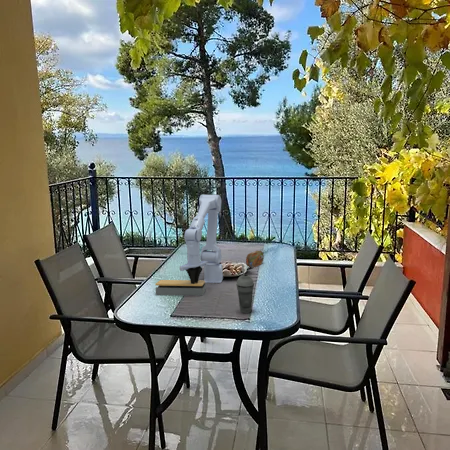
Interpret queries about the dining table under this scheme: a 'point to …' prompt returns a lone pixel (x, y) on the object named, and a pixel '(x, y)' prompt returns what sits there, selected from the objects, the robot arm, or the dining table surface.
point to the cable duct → (180, 290)
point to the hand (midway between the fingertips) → (194, 282)
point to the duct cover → (179, 283)
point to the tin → (254, 259)
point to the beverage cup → (245, 292)
